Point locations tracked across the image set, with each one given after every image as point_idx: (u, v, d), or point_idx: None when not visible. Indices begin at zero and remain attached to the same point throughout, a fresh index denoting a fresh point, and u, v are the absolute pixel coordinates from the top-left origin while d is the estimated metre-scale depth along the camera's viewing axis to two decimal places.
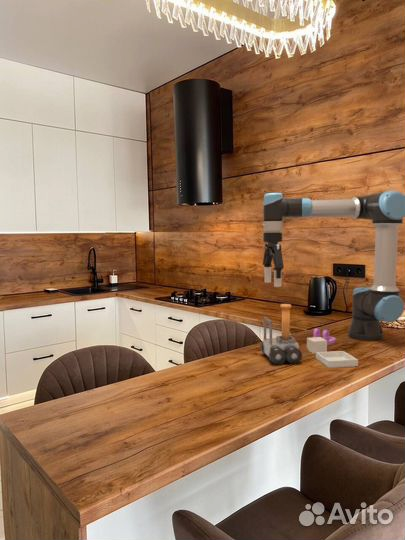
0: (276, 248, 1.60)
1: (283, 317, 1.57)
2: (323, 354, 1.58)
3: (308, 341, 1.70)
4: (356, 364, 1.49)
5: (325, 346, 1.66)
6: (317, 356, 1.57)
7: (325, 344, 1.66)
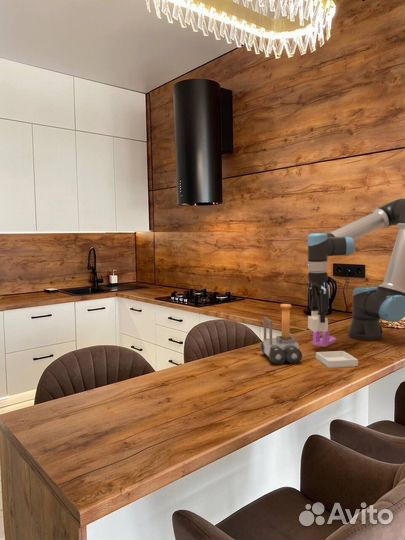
0: (323, 293, 1.61)
1: (283, 317, 1.57)
2: (323, 354, 1.58)
3: (309, 319, 1.69)
4: (356, 364, 1.49)
5: (326, 324, 1.66)
6: (317, 356, 1.57)
7: (326, 322, 1.66)
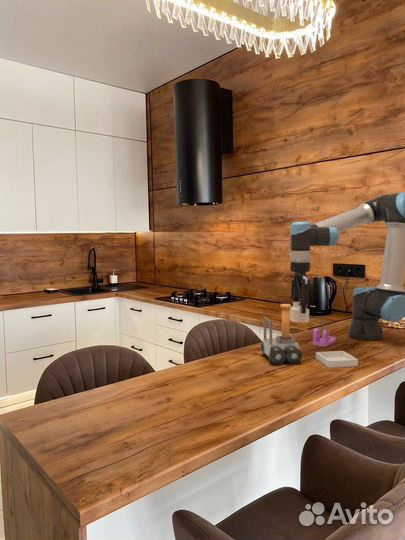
0: (304, 283, 1.57)
1: (283, 317, 1.57)
2: (323, 354, 1.58)
3: (290, 310, 1.65)
4: (356, 364, 1.49)
5: (307, 315, 1.62)
6: (317, 356, 1.57)
7: (307, 313, 1.62)
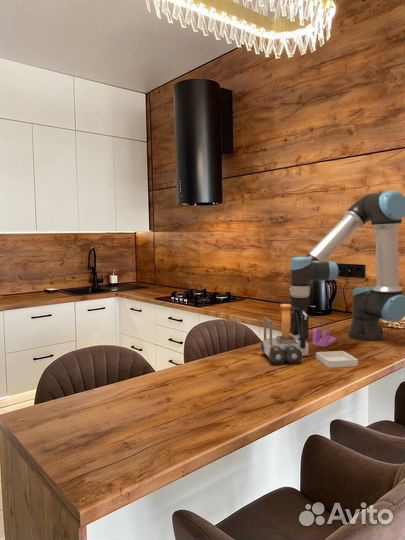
0: (304, 318, 1.58)
1: (283, 317, 1.57)
2: (323, 354, 1.58)
3: None
4: (356, 364, 1.49)
5: (306, 349, 1.63)
6: (317, 356, 1.57)
7: (306, 347, 1.63)
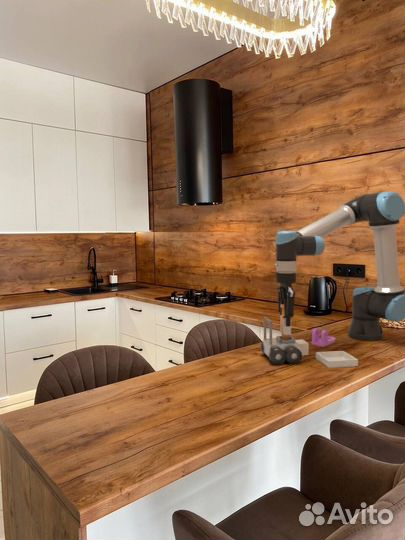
0: (289, 296, 1.51)
1: None
2: (323, 354, 1.58)
3: None
4: (356, 364, 1.49)
5: (307, 349, 1.63)
6: (317, 356, 1.57)
7: (307, 347, 1.63)
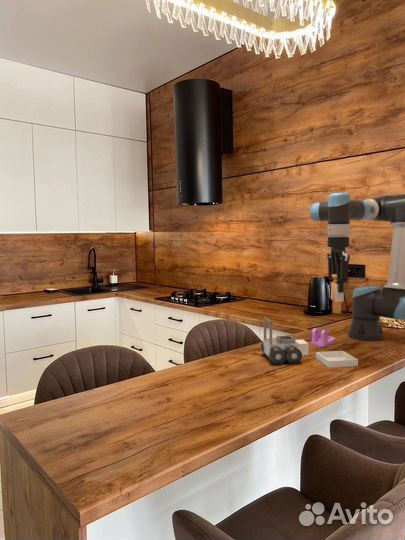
0: (344, 260, 1.44)
1: (335, 287, 1.50)
2: (323, 354, 1.58)
3: None
4: (356, 364, 1.49)
5: (307, 349, 1.63)
6: (317, 356, 1.57)
7: (307, 347, 1.63)
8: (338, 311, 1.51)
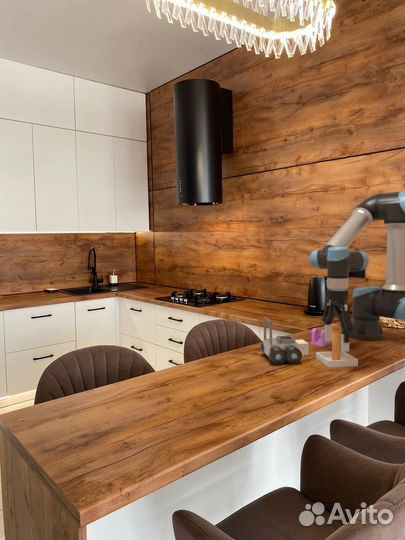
0: (344, 309, 1.45)
1: (334, 337, 1.52)
2: (323, 354, 1.58)
3: None
4: (356, 364, 1.49)
5: (307, 349, 1.63)
6: (317, 356, 1.57)
7: (307, 347, 1.63)
8: None
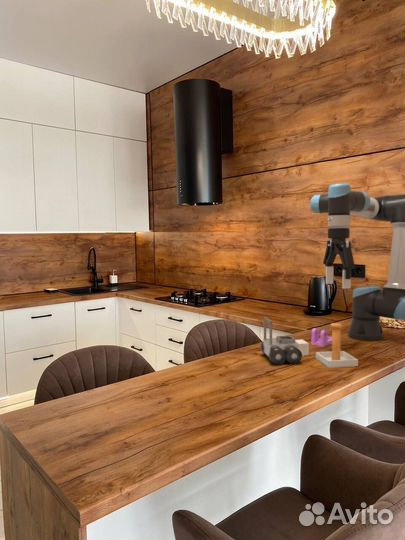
0: (345, 245, 1.43)
1: (334, 337, 1.52)
2: (323, 354, 1.58)
3: None
4: (356, 364, 1.49)
5: (307, 349, 1.63)
6: (317, 356, 1.57)
7: (307, 347, 1.63)
8: None
